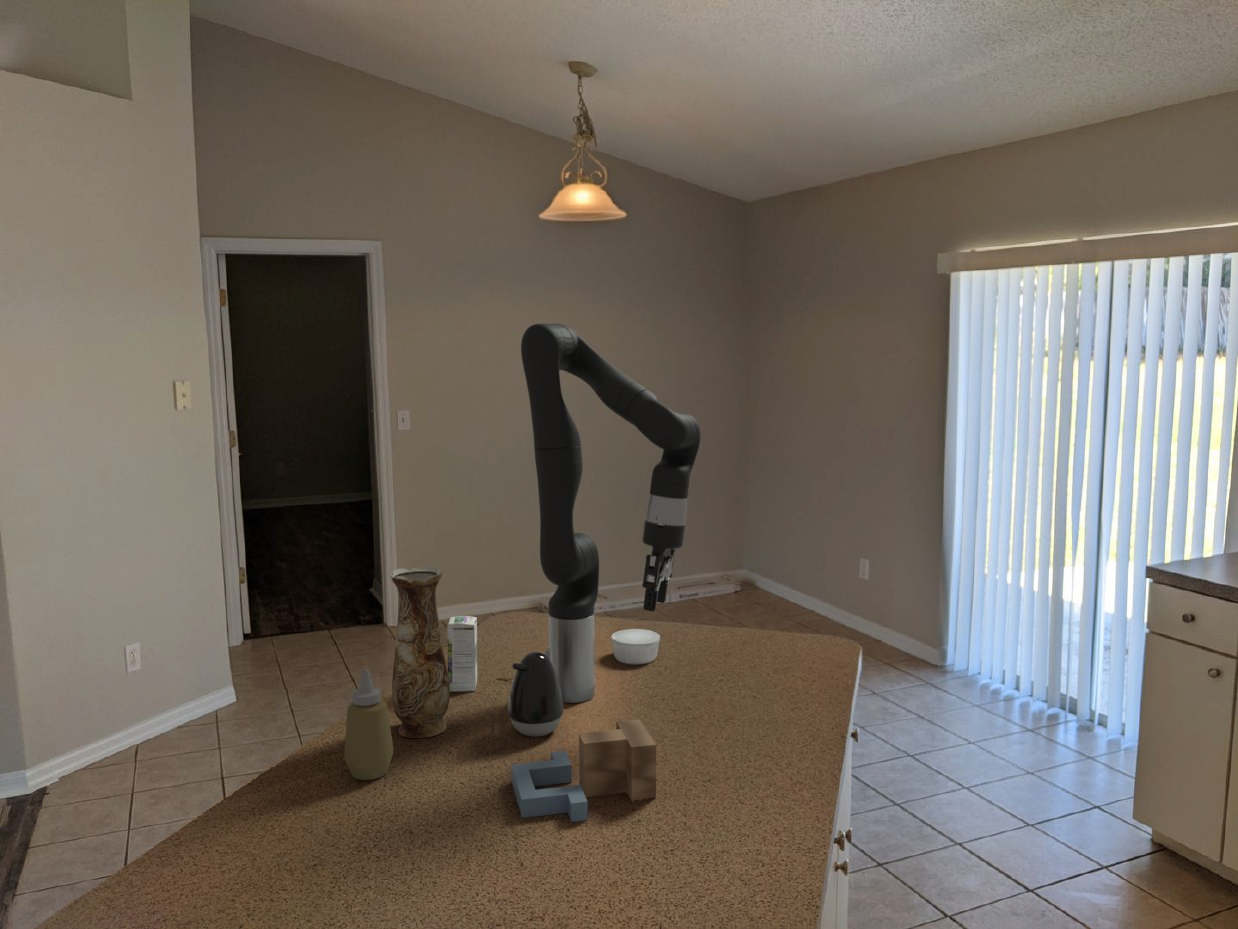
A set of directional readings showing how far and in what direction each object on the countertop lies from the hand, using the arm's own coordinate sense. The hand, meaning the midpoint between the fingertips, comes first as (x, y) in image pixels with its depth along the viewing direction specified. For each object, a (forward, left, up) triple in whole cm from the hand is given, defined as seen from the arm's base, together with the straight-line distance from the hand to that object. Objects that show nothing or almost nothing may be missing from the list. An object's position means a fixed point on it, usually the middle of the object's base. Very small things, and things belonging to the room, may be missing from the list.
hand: (654, 606), depth 173 cm
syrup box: (-43, -4, -23) cm, 49 cm away
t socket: (-1, -33, -23) cm, 40 cm away
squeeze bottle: (-31, -42, -23) cm, 57 cm away
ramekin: (-21, +30, -23) cm, 43 cm away
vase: (-36, -24, -23) cm, 49 cm away
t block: (+7, -25, -23) cm, 35 cm away
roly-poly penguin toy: (-17, -14, -23) cm, 32 cm away
